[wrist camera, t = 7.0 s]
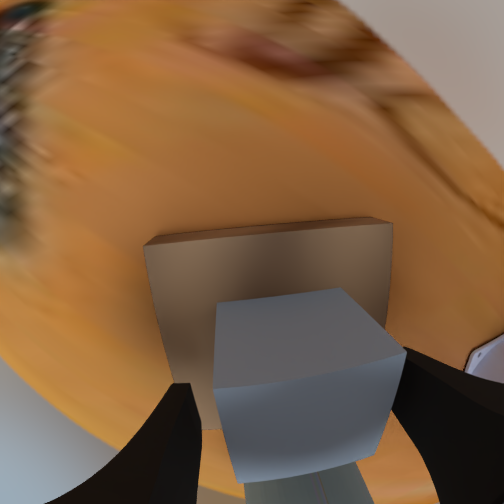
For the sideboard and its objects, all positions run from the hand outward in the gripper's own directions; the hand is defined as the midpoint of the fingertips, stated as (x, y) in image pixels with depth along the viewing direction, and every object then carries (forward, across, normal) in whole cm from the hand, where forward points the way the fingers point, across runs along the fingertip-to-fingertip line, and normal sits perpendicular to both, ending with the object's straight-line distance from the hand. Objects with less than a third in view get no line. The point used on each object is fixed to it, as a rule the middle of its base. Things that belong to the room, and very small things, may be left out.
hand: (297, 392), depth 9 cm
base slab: (+5, 0, 0) cm, 5 cm away
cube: (+3, 0, 0) cm, 3 cm away
